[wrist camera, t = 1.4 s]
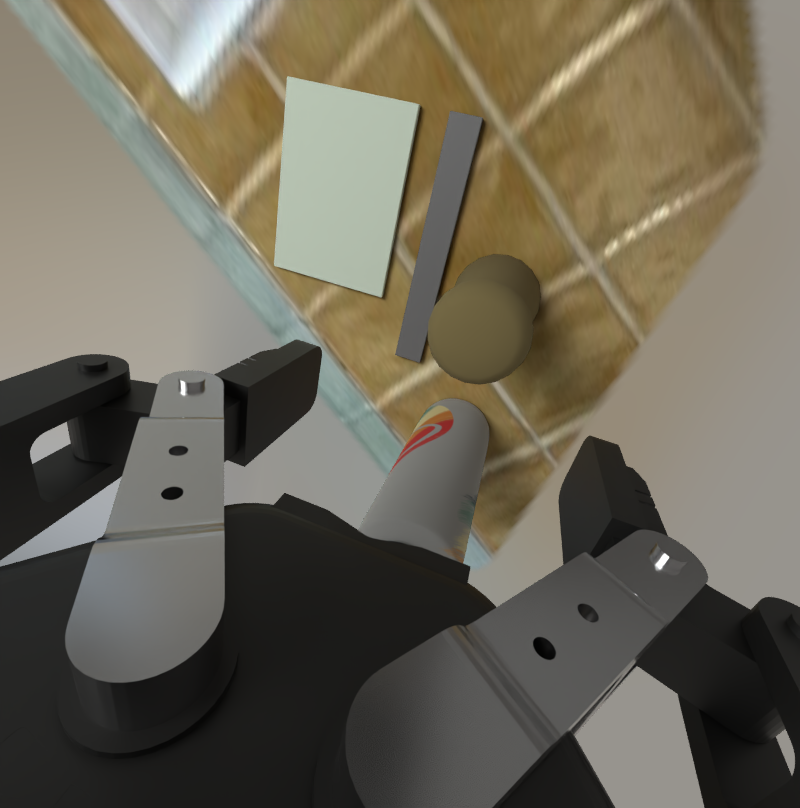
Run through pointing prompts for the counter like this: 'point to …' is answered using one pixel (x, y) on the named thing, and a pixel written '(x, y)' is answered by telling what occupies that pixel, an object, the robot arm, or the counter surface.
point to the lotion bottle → (434, 482)
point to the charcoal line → (438, 230)
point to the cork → (485, 320)
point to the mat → (342, 183)
